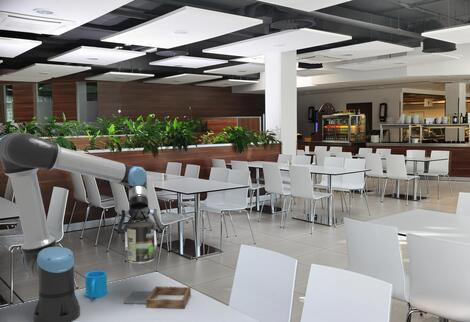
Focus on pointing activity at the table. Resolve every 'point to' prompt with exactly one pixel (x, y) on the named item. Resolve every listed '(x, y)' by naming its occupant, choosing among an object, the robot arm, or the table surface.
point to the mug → (96, 284)
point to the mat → (137, 297)
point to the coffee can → (140, 242)
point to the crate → (168, 303)
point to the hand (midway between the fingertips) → (141, 247)
